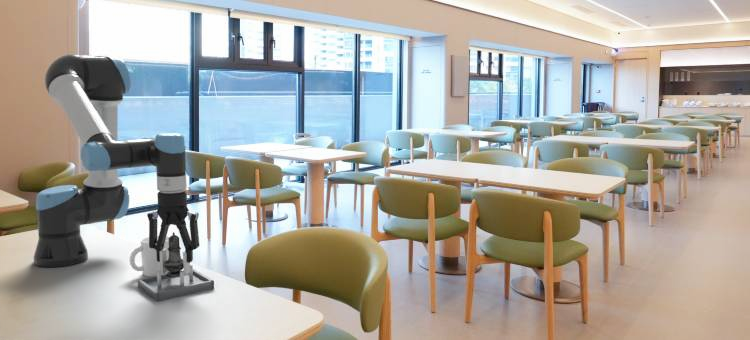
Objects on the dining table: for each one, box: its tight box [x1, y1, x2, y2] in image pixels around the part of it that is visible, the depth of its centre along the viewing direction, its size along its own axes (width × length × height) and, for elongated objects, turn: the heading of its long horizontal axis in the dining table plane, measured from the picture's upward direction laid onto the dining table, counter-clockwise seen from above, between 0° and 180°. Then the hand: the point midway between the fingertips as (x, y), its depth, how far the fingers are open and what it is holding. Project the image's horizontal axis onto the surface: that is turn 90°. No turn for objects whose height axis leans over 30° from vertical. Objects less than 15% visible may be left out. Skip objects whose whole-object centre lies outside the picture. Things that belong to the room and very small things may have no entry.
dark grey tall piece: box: [164, 232, 184, 278], centre depth 162 cm, size 6×6×12 cm
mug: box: [129, 235, 170, 278], centre depth 174 cm, size 12×8×10 cm
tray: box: [136, 264, 215, 303], centre depth 163 cm, size 14×16×6 cm
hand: (175, 273), depth 163 cm, fingers closed on dark grey tall piece, 6 cm apart
